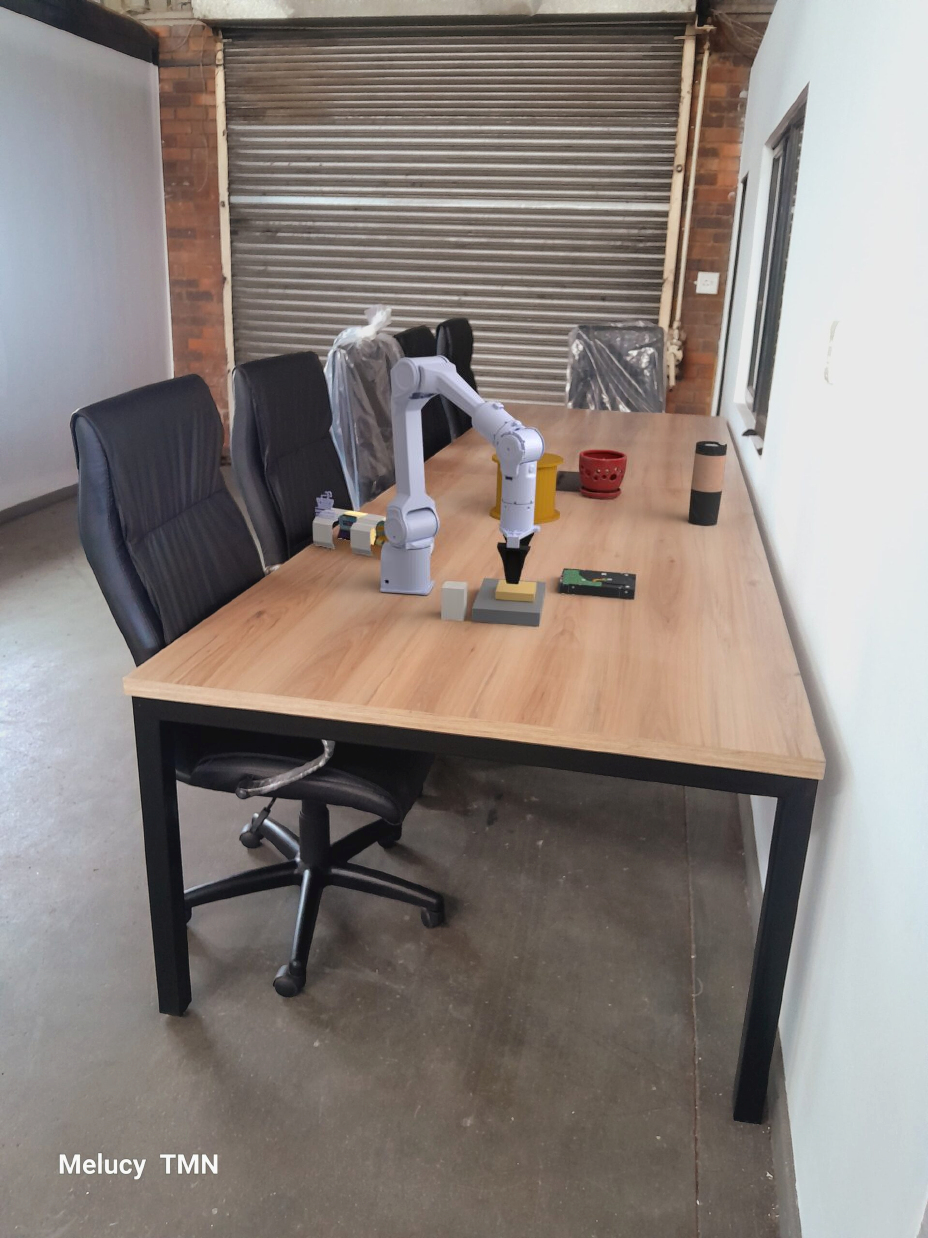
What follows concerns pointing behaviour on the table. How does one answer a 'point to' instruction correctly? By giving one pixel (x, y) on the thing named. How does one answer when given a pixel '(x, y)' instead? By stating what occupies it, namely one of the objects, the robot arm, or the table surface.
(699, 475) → the travel mug
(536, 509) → the spool
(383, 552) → the robot arm
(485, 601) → the socket plate
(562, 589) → the disk drive
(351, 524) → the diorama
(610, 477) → the plant pot
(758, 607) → the table surface
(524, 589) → the yellow flat square block
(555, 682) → the table surface
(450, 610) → the plug
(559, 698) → the table surface
